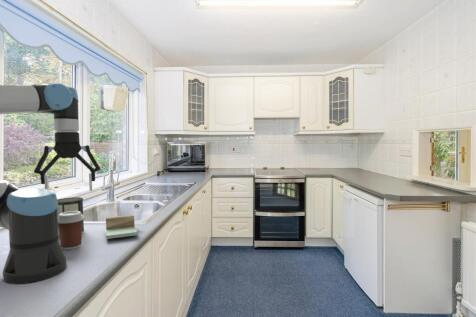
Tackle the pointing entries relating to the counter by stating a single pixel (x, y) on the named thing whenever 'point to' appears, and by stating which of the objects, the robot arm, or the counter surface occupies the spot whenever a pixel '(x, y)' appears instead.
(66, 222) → the coffee cup
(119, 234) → the green square panel
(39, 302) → the counter surface
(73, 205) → the coffee can
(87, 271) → the counter surface
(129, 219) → the brown rectangular block
